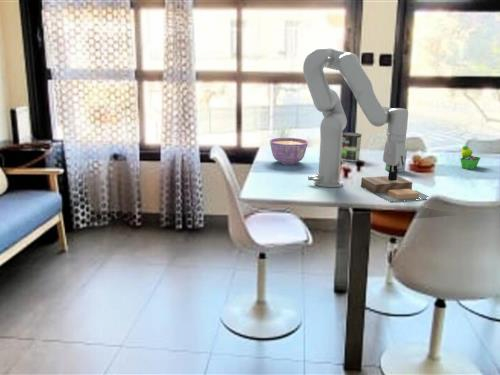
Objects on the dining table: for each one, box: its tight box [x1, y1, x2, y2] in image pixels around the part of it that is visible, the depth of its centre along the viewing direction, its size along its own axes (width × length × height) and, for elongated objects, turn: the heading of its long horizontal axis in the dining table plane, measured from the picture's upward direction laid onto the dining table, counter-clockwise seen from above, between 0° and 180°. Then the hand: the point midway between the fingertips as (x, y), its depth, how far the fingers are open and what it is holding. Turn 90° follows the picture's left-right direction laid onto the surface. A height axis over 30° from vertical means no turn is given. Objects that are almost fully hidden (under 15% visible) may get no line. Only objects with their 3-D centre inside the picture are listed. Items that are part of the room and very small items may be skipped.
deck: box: [360, 175, 413, 195], centre depth 228 cm, size 18×12×4 cm, turn 106°
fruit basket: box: [460, 145, 481, 170], centre depth 272 cm, size 11×9×11 cm
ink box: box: [384, 147, 408, 172], centre depth 261 cm, size 9×5×12 cm, turn 101°
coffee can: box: [341, 132, 362, 162], centre depth 283 cm, size 10×10×14 cm
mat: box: [375, 190, 430, 203], centre depth 217 cm, size 20×12×1 cm, turn 106°
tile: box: [388, 189, 419, 199], centre depth 216 cm, size 10×7×2 cm
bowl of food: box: [269, 137, 309, 165], centre depth 272 cm, size 20×20×12 cm
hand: (392, 180), depth 223 cm, fingers closed
